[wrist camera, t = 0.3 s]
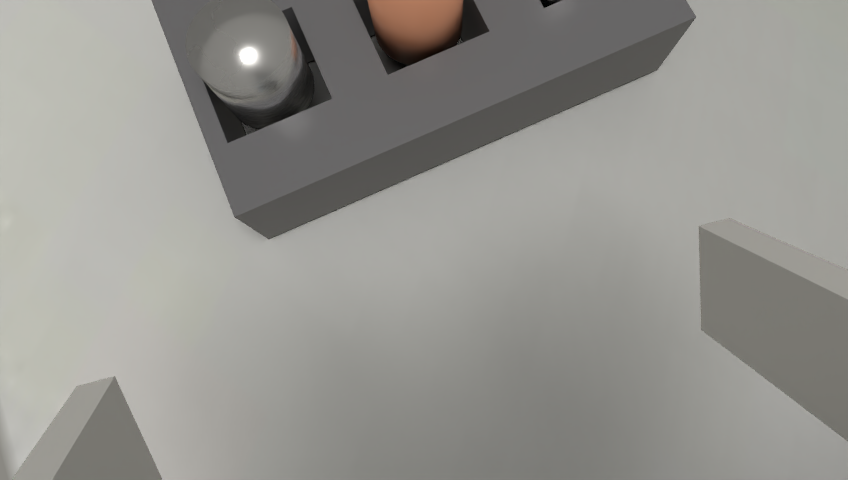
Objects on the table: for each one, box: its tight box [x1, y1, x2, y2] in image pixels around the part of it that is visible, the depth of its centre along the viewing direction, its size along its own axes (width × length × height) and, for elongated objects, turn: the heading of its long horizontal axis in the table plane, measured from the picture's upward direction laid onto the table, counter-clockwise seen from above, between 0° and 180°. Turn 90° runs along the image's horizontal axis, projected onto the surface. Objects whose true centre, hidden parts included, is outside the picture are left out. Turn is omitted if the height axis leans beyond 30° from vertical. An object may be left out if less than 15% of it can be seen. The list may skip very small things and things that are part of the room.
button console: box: [152, 0, 696, 239], centre depth 30 cm, size 12×23×5 cm, turn 114°
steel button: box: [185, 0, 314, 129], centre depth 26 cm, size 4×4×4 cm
